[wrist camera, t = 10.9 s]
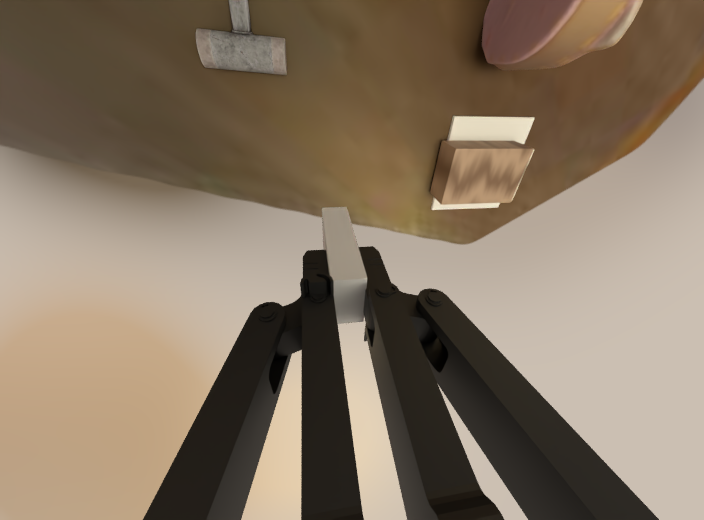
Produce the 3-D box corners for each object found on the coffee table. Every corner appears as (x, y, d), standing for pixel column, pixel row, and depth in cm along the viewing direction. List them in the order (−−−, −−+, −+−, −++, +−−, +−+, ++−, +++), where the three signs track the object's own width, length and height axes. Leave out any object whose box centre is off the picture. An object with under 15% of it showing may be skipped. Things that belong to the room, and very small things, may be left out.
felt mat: (453, 115, 41) (454, 116, 41) (532, 117, 43) (534, 117, 43) (430, 208, 51) (431, 209, 50) (496, 206, 53) (498, 207, 52)
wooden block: (456, 148, 39) (535, 148, 41) (442, 140, 43) (515, 140, 44) (441, 204, 44) (512, 202, 46) (429, 192, 48) (495, 190, 50)
